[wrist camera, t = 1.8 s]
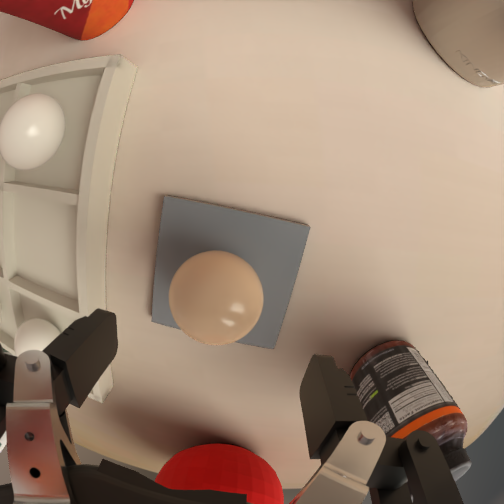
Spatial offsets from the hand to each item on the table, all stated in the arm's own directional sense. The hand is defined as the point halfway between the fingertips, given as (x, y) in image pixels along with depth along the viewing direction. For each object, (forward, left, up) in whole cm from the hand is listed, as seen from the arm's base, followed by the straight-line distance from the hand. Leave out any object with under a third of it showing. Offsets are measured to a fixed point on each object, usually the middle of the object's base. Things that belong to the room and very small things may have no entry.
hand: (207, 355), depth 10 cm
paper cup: (-18, -13, -7) cm, 23 cm away
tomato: (+18, +3, -7) cm, 20 cm away
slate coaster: (-1, 0, -6) cm, 6 cm away
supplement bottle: (+4, +13, -7) cm, 15 cm away
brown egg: (-1, 0, -4) cm, 4 cm away
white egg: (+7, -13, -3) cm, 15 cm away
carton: (0, -17, -6) cm, 18 cm away
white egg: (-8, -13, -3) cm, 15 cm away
